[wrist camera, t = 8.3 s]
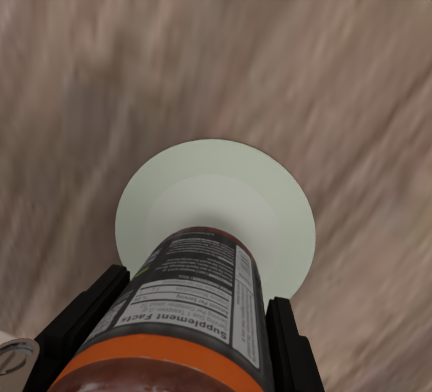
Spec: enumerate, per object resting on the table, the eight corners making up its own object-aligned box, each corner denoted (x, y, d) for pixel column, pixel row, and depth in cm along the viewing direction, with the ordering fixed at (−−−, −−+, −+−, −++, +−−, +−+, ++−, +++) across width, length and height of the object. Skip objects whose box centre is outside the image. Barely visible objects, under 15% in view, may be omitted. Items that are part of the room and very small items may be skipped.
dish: (196, 339, 21) (193, 355, 20) (88, 210, 19) (75, 217, 18) (346, 258, 18) (356, 269, 17) (236, 95, 16) (235, 91, 15)
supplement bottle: (238, 333, 14) (225, 988, 3) (140, 299, 14) (-180, 824, 3) (277, 244, 13) (491, 923, 2) (167, 205, 13) (-267, 625, 2)
